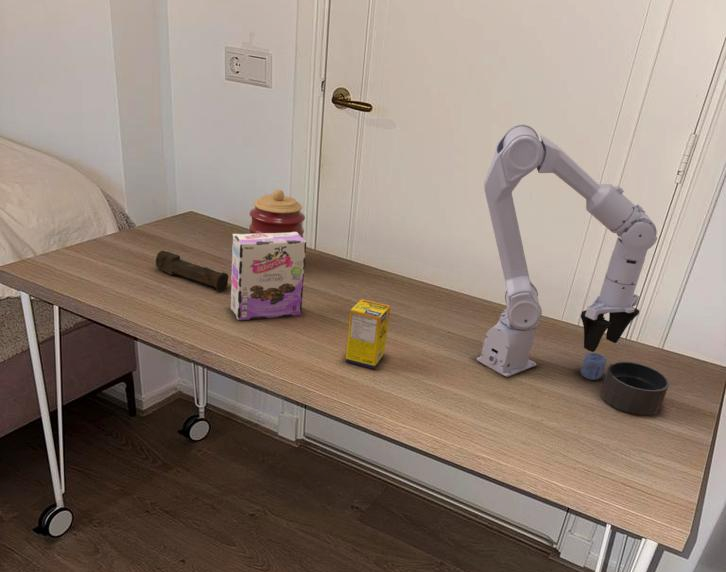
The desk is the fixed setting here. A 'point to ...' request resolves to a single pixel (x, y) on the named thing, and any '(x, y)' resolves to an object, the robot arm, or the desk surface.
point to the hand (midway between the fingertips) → (600, 345)
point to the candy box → (267, 275)
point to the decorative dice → (593, 366)
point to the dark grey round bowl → (634, 388)
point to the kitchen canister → (276, 214)
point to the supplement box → (367, 333)
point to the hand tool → (191, 270)
